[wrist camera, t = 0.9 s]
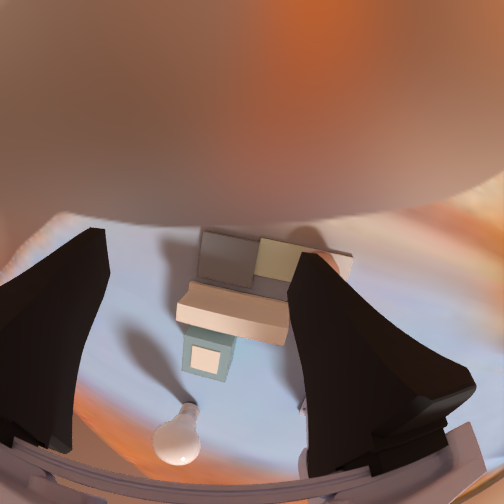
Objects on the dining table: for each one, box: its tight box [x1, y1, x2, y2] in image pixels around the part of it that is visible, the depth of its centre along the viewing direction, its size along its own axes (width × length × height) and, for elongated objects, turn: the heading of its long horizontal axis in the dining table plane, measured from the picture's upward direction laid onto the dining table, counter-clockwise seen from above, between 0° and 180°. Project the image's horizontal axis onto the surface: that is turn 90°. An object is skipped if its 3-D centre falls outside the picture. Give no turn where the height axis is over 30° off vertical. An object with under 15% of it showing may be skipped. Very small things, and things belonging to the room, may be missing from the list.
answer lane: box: [254, 238, 354, 282], centre depth 29 cm, size 4×10×1 cm, turn 79°
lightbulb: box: [152, 403, 201, 465], centre depth 31 cm, size 6×6×11 cm
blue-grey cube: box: [182, 325, 237, 382], centre depth 30 cm, size 5×5×5 cm
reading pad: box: [197, 231, 260, 288], centre depth 30 cm, size 5×6×1 cm
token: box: [311, 251, 340, 275], centre depth 28 cm, size 4×4×2 cm
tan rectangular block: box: [176, 280, 290, 346], centre depth 29 cm, size 3×12×5 cm, turn 80°
